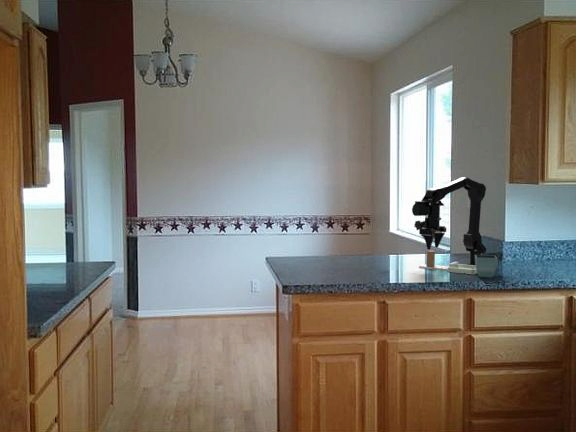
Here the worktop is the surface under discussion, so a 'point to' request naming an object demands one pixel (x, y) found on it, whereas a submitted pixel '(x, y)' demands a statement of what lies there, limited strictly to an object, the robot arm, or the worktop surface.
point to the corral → (460, 270)
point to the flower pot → (486, 265)
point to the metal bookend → (432, 265)
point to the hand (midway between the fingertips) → (432, 248)
